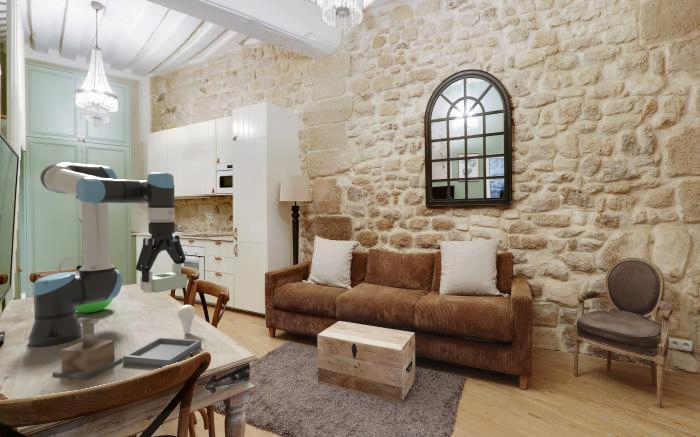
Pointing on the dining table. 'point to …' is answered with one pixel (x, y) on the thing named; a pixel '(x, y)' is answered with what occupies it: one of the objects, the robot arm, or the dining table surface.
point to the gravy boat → (93, 306)
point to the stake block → (87, 354)
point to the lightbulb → (186, 317)
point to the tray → (162, 352)
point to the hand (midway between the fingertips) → (163, 287)
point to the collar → (167, 281)
